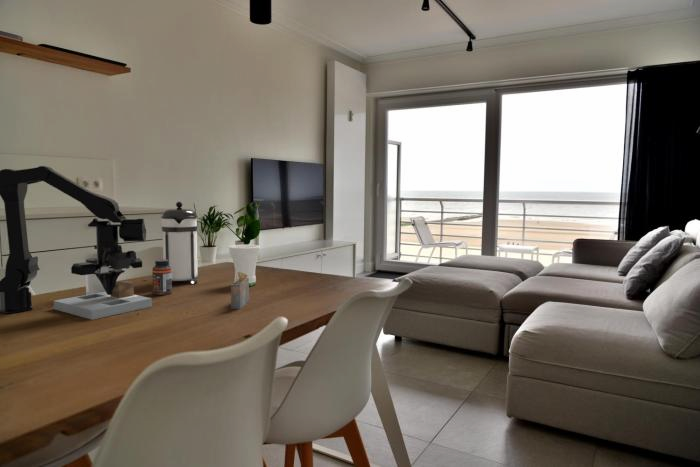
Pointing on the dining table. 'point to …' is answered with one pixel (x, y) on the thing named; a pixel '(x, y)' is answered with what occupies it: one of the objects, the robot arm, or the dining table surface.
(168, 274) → the supplement bottle
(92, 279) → the jar
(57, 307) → the trap deck
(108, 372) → the dining table surface
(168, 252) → the coffee press
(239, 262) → the cup
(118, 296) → the walnut block
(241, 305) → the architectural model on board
